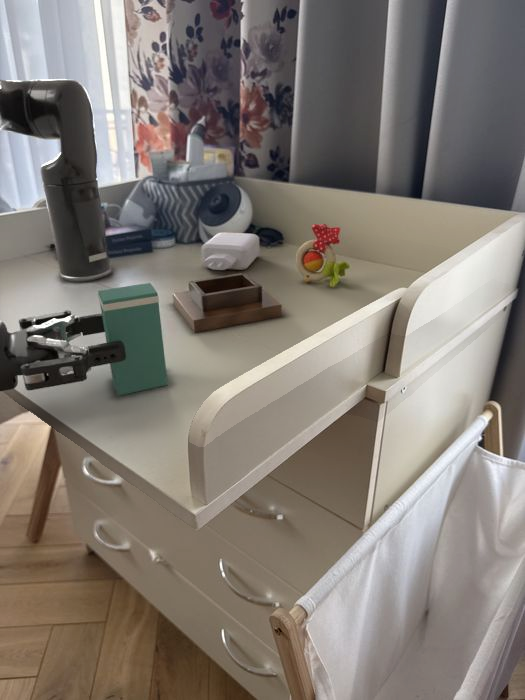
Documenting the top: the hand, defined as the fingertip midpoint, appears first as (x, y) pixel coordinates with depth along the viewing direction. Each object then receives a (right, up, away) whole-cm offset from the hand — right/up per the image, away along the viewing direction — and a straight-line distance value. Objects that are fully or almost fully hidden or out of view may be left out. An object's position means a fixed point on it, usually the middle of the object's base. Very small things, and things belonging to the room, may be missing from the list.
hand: (118, 334), depth 63 cm
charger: (+10, +14, +43) cm, 47 cm away
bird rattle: (+27, +10, +34) cm, 45 cm away
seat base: (+11, +5, +24) cm, 26 cm away
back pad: (+2, -6, +4) cm, 7 cm away
